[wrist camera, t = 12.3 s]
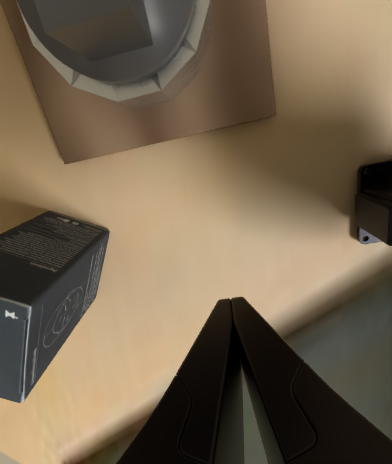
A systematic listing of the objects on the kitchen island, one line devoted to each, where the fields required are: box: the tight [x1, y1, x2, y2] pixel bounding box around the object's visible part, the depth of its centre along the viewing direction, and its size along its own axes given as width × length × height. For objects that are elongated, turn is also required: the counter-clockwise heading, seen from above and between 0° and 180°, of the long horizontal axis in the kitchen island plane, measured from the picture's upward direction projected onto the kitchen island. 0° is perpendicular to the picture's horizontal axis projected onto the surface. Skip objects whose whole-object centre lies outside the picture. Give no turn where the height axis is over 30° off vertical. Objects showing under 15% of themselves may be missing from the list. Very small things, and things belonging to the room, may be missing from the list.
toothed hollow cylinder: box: [17, 0, 212, 109], centre depth 14 cm, size 9×9×4 cm
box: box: [0, 211, 110, 403], centre depth 18 cm, size 8×6×11 cm
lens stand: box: [0, 0, 276, 164], centre depth 16 cm, size 16×14×1 cm
